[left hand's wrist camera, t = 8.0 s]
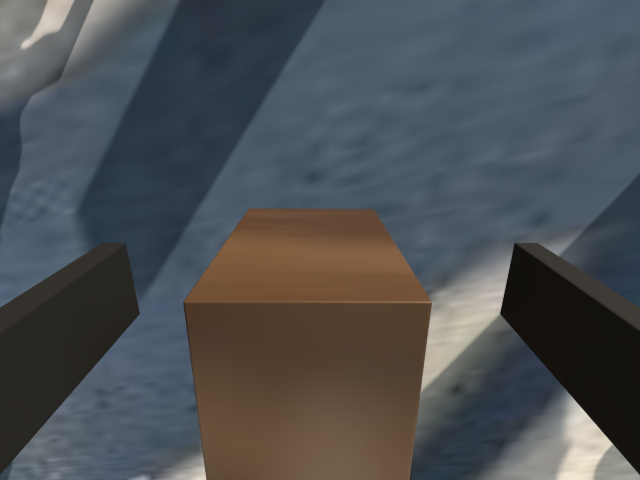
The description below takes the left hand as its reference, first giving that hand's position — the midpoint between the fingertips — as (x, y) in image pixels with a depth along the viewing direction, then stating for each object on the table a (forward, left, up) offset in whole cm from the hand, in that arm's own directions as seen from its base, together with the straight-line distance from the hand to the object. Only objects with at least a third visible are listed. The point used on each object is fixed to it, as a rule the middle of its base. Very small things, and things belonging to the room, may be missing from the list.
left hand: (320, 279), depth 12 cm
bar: (+3, +10, -3) cm, 11 cm away
